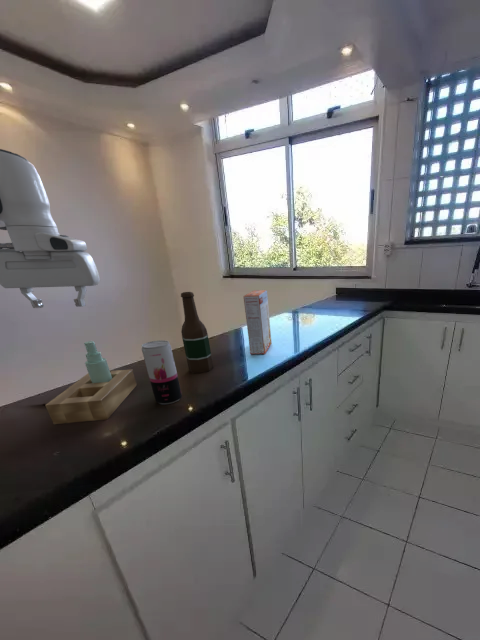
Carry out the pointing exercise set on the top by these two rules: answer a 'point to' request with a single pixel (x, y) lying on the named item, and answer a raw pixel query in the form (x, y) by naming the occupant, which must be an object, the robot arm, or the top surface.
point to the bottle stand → (91, 398)
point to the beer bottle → (195, 337)
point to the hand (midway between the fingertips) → (60, 307)
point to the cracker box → (258, 321)
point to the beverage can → (162, 371)
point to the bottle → (96, 364)
